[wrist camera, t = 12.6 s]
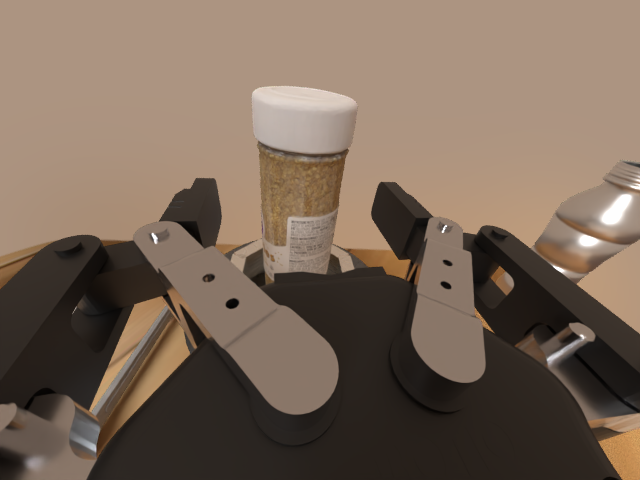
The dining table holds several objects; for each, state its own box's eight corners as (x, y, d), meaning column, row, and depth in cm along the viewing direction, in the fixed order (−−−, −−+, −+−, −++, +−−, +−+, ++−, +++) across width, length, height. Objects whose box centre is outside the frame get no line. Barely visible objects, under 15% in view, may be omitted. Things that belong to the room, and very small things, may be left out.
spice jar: (260, 279, 19) (245, 80, 11) (313, 269, 21) (335, 88, 12) (270, 328, 16) (258, 96, 8) (332, 313, 17) (380, 104, 9)
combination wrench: (40, 496, 14) (200, 259, 29) (17, 494, 14) (190, 257, 29) (75, 501, 16) (206, 279, 32) (56, 499, 16) (197, 278, 31)
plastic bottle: (498, 281, 37) (606, 151, 25) (548, 314, 33) (708, 176, 20) (477, 297, 34) (589, 158, 21) (530, 336, 29) (706, 188, 17)
